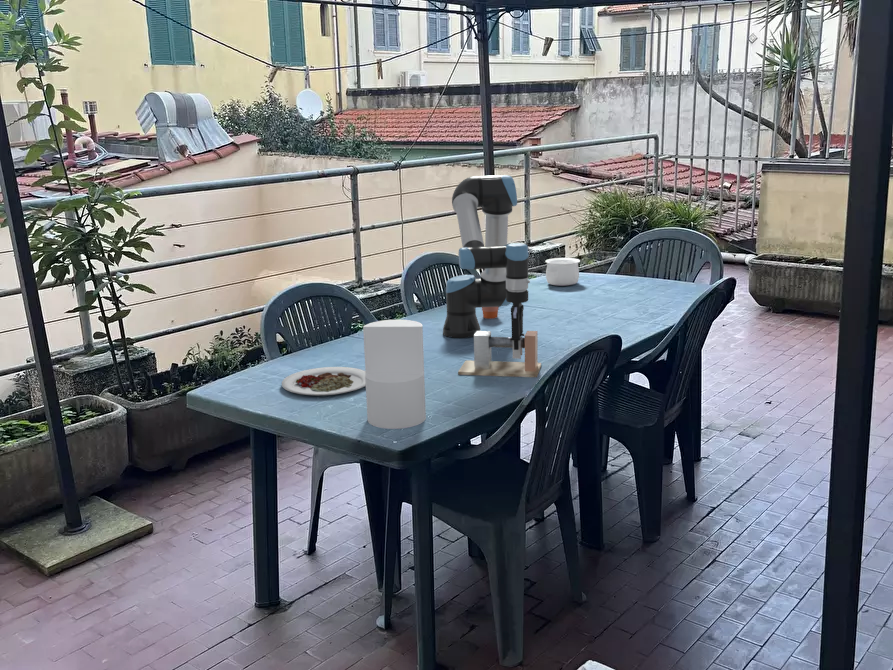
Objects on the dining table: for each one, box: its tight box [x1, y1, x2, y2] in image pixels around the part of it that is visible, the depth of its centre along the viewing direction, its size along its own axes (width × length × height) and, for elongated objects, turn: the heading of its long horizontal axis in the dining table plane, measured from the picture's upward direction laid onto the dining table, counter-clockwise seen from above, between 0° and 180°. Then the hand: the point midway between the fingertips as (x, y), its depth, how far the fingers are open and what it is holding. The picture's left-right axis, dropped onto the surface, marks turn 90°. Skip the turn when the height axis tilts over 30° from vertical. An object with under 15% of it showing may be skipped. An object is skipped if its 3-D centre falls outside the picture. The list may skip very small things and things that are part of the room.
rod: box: [489, 336, 525, 349], centre depth 298 cm, size 18×4×4 cm, turn 78°
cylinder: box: [362, 319, 427, 430], centre depth 253 cm, size 17×17×28 cm
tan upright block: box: [524, 330, 539, 371], centre depth 297 cm, size 4×7×12 cm, turn 168°
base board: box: [457, 359, 542, 378], centre depth 301 cm, size 27×14×1 cm, turn 78°
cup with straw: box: [481, 307, 500, 320], centre depth 375 cm, size 9×9×18 cm
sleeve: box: [473, 330, 493, 369], centre depth 301 cm, size 5×6×12 cm
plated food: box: [281, 366, 366, 396], centre depth 291 cm, size 30×30×3 cm
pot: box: [545, 257, 581, 286], centre depth 440 cm, size 22×17×12 cm
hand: (517, 356), depth 299 cm, fingers closed on rod, 4 cm apart
